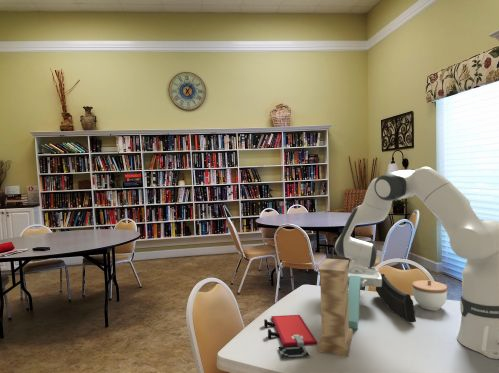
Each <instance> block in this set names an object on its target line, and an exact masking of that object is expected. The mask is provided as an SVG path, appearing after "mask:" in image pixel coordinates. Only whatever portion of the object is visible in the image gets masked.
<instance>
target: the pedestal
mask: <svg viewBox="0 0 499 373" xmlns="http://www.w3.org/2000/svg"><path fill="white" fill-rule="evenodd" d="M349 266H350V260H349V259H343V258H342V259H339V258H338V259H337V258H325V259H324V260H323V261H322V262H321V264H320V265H319V267H318V268H317V273H320V274H319V276H320V277H319V280H320V281H319V282H320V315H321V316H320V317H321V319H320V320H321V323H320V324H321V337H320V339H319V342H318V344H317V347H318V348H317V349H318V350H317V351H318V352H319V353H325V354H332V355H337V356H343V357H349V354H350V348H351V344H352V341H353V340H352V339H353V329H351V328H349V304H348V290H349V286H348V268H349Z"/></svg>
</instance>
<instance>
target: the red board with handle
mask: <svg viewBox="0 0 499 373" xmlns="http://www.w3.org/2000/svg"><path fill="white" fill-rule="evenodd" d="M271 321H272V322H270V321H268V319H265V318H264V320H263V323H264V324H263V325H264V328H265V329H267V338H268V340H272V337H276V338H279V340H280V342H281V344H282V346H278V351H279V352H280V355H281V357H282V358H291V357H293V358H294V357H308V356H310V354H309V351H308V350H307V348H306V347H305V346H310V345H312V346H313V345H318V341H317V339H316V338H315V336H314V334H313V333H312V331H311V330H310V329H309V327H308V326H307V324H306V322H305V321H304V319H303V318H302V316H301V315H300V314H289V315H288V314H287V315H271ZM268 326H269V327H274V328H275V330H276V331H275V332H273V331H272V329H269V328H268Z"/></svg>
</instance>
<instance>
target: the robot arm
mask: <svg viewBox="0 0 499 373" xmlns="http://www.w3.org/2000/svg"><path fill="white" fill-rule="evenodd" d="M414 196H416V197H417V198H418V199H419V200H420V201H421V202H422V203H423V204H424V205H425V207H427V209H428V210H429V211H430V212H431V213H432V214H433V215H434V216H435V217H436V219H438V221H439V222H440V224H441V226H442V227H443V229H444V230H445V233H446V234H447V236H448V237H449V238H448V239H449V247H450V249H451V250H452V251H453V253H454V254H455V255H456V256H458V257H459V258H461V259H465V260H466V263H465V266H464V267H463V270H462V272H461V290H462V292H461V294H462V295H461V296H460V300H459V303H460V308H459V309H460V314H461V321H460V326H459V331H458V333H457V336H456V340H457V341H458V343H460V344H461V345H463V346H465V347H466V348H467V349H470V350H472V351H475V352H477V353H480V354H481V355H483V356H485V357H486V358H490V359H496V360H499V221H498V220H493V219H485V220H481V219H480V218H479V217H478V216H477V214H476V212H475V211H474V209H473V208H472V206H471V201H470V200H469V199H468V198H467V197H466V196H465V195H464V194H463V193H462V192H461V191H460V190H459V189H458V188H457V187H456V186H455V185H454V184H453V183H452V182H451V181H450V180H448V178H446V177H445V176H444V175H442V174H441V173H440V172H438V171H437V170H435V169H433V168H432V167H430V166H421V167H420V168H409V169H399V170H395V171H391V172H387V173H384V174H381V175H380V176H378V177H375V178H373V179H372V180H371V182H370V184H369V185H368V188H367V189H366V192H365V195H364V198H363V202H362V203H361V204H360V205H359V206H357V207H354V208H353V209H352V211H351V213H350V215H349V217H348V219H347V220H346V223H345V225H344V227H343V229H342V231H341V233H340V235H339V237H337V239H336V241H335V244H334V251H335V253H336V254H337V256H339V257H341V258H342V257H343V258H347V259H350V260H352V261H351V262H350V263H349V265H348V287H349V280H350V275H352V276H360V279H361V281H360V287H361V288H365V287H373V288H374V287H375V288H376V287H382V277H381V274H382V273H380V272H379V269H378V268H374V266H375V263H376V260H377V256H378V255H377V254H378V253H377V252H378V249H377V247H376V246H375V244H374V243H371V242H369V241H365V240H362V239H357V238H355V237H352V236H351V235H352V233H353V232H354V228H355V227H356V226H357V225H360V224H375V223H378V222H382V221H384V220H385V219H386V218H387V217H388V215H389V213H390V211H391V208H392V204H393V201H396V200H402V199H403V200H405V199H409V198H411V197H412V198H413V197H414Z"/></svg>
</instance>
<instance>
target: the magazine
mask: <svg viewBox="0 0 499 373" xmlns="http://www.w3.org/2000/svg"><path fill="white" fill-rule="evenodd" d="M380 274H381V277H382V287H375V291H376V293H377V295H378V296H379V298H380V300H382V301H383V303H384V304H385V305H386V307H388V309H389V310H390V311H391V312H393V314H395V315H396V316H398V317H399V318H401V319H402V320H404V321H406V323H410V324H412V323H416V322H417V319H416V313H415V306H414V301H413V299H412V297H411V294H409V293H404V292H402V291H401V290H399V289H398V288H396V287H395V286H394V285H393V284H392V283H391V282H390V281H389V279H387V277H386V275H385V274H384V273H380Z"/></svg>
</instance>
